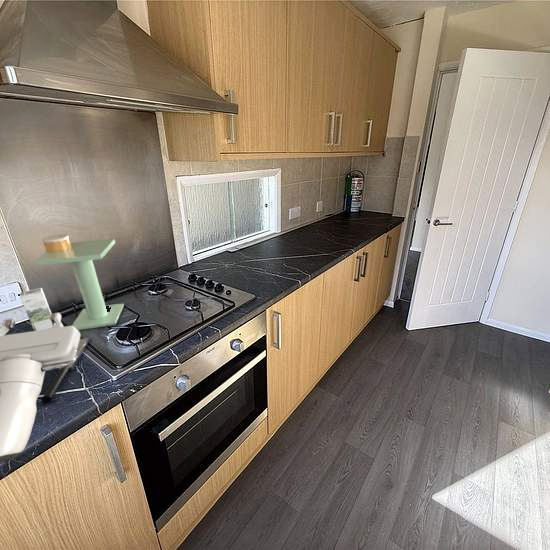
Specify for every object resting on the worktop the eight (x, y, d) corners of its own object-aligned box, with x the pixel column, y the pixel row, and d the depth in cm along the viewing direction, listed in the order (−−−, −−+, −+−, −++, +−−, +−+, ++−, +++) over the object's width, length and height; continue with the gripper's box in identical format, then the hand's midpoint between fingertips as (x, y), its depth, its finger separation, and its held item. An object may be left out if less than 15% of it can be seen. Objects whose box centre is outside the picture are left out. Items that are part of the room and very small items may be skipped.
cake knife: (55, 401, 70) (52, 394, 69) (41, 404, 69) (38, 397, 69) (89, 340, 92) (87, 335, 92) (78, 342, 92) (76, 337, 91)
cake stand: (120, 326, 99) (97, 241, 88) (59, 336, 95) (25, 248, 83) (130, 302, 115) (111, 227, 104) (78, 309, 111) (52, 232, 99)
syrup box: (55, 324, 102) (41, 286, 96) (57, 331, 98) (42, 292, 92) (35, 330, 99) (19, 291, 93) (36, 337, 95) (19, 298, 89)
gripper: (67, 360, 60) (77, 303, 68) (-54, 380, 56) (-28, 317, 63) (80, 370, 65) (88, 317, 73) (-31, 390, 60) (-9, 330, 68)
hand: (33, 317), depth 68 cm, fingers open, 8 cm apart
